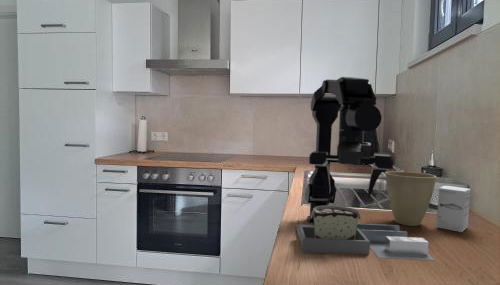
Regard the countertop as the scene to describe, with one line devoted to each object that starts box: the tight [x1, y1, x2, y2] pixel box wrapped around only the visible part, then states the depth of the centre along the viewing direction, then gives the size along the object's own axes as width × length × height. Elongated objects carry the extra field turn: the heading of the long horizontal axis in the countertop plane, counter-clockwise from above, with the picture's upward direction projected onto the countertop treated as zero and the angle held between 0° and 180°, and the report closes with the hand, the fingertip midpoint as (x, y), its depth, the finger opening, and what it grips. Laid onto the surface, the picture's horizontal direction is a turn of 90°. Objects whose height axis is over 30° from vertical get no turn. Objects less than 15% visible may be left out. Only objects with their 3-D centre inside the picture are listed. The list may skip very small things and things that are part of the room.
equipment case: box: [295, 224, 371, 255], centre depth 94 cm, size 21×16×4 cm
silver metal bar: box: [384, 236, 429, 255], centre depth 85 cm, size 3×9×3 cm, turn 87°
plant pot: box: [384, 170, 437, 227], centre depth 112 cm, size 15×15×16 cm
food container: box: [311, 204, 362, 240], centre depth 89 cm, size 12×6×10 cm, turn 92°
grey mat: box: [370, 243, 436, 261], centre depth 86 cm, size 10×13×1 cm
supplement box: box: [436, 185, 471, 233], centre depth 108 cm, size 7×7×13 cm
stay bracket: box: [357, 223, 408, 244], centre depth 94 cm, size 6×12×4 cm, turn 87°
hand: (348, 195), depth 84 cm, fingers open, 9 cm apart
